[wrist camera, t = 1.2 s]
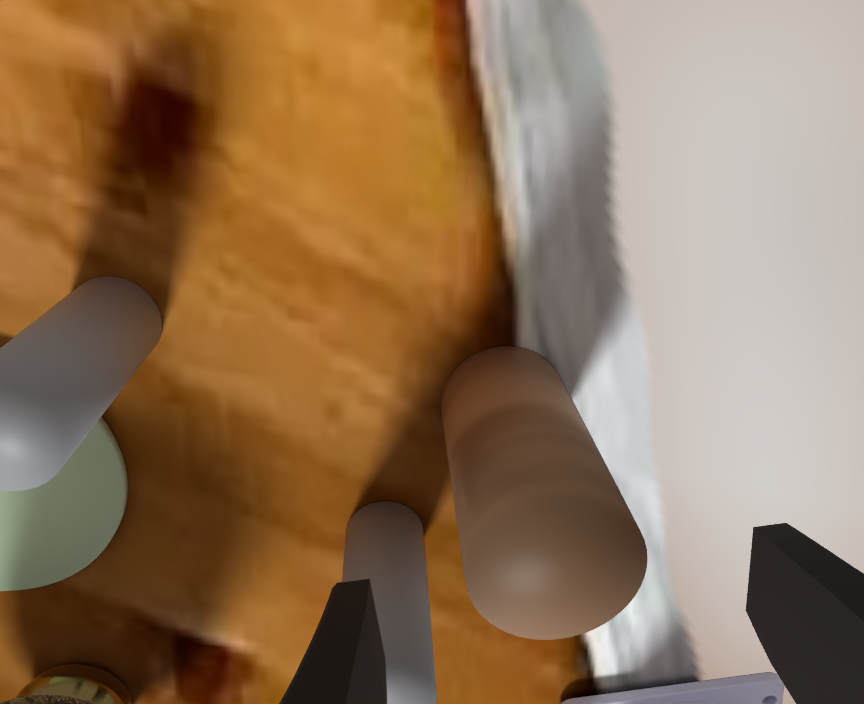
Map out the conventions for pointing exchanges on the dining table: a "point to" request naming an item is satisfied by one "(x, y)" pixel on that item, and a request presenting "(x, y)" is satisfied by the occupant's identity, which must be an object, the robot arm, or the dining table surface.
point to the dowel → (535, 501)
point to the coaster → (64, 515)
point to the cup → (73, 687)
